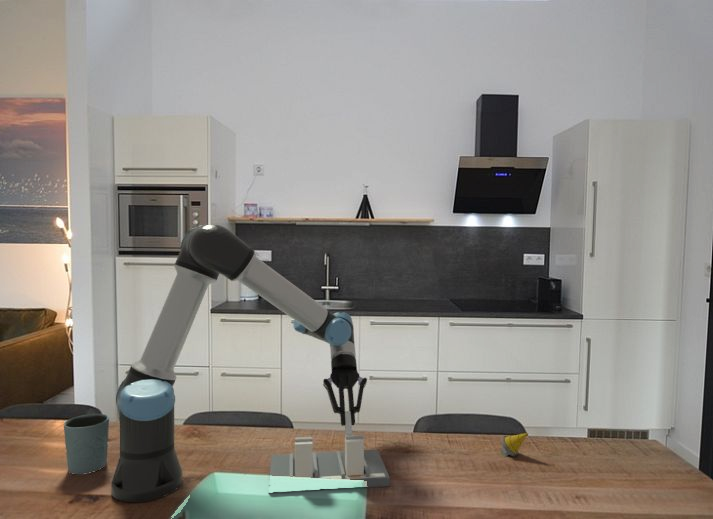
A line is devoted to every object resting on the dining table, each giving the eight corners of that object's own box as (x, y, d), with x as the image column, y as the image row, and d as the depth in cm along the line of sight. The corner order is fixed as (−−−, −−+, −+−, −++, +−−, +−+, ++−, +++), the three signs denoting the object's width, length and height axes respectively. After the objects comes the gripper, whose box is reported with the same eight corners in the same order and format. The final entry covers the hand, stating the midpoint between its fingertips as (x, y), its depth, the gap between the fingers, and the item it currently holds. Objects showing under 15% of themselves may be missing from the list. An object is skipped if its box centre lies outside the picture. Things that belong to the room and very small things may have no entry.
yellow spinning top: (505, 449, 135) (532, 430, 131) (509, 465, 130) (537, 446, 126) (491, 439, 133) (519, 420, 129) (495, 455, 129) (523, 435, 125)
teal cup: (89, 478, 115) (89, 429, 115) (53, 474, 117) (53, 425, 117) (118, 460, 125) (118, 414, 125) (84, 456, 127) (84, 411, 127)
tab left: (294, 478, 111) (295, 441, 110) (294, 470, 114) (294, 435, 114) (312, 477, 111) (312, 441, 111) (311, 469, 115) (312, 434, 115)
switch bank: (268, 493, 108) (268, 479, 108) (271, 462, 124) (271, 450, 124) (389, 486, 112) (389, 472, 112) (377, 456, 128) (377, 444, 128)
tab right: (346, 475, 112) (346, 439, 112) (344, 468, 116) (344, 432, 116) (363, 474, 113) (364, 438, 113) (361, 467, 117) (361, 432, 117)
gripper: (363, 365, 147) (371, 441, 131) (321, 366, 145) (323, 443, 129) (366, 352, 142) (374, 429, 125) (322, 353, 140) (325, 431, 124)
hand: (349, 436), depth 127 cm, fingers closed
